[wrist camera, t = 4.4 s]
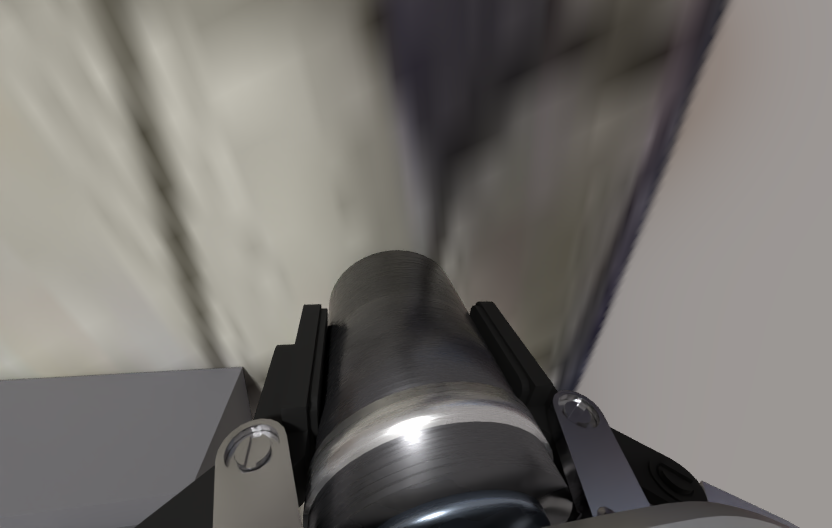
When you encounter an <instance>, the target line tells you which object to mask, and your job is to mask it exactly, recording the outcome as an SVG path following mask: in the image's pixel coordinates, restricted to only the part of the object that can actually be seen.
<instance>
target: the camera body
mask: <svg viewBox="0 0 832 528" xmlns="http://www.w3.org/2000/svg"><path fill="white" fill-rule="evenodd" d="M249 421H252V416H251V411H250V405H249V400H248V394H247V389H246V384H245V378H244V373H243V367H234V368H216V369H198V370H180V371H162V372H144V373H126V374H108V375H90V376H72V377H54V378H36V379H17V380H0V528H134V527H136V526H137V525H138V524H140V523H141V522H142V521H143V520H145V519H146V518H147V517H149V516H150V515H151V514H152V513H154V512H155V511H156V510H158V509H159V508H160V507H161V506H163V505H164V504H165V503H167V502H168V501H169V500H170V499H172V498H173V497H174V496H176V495H177V494H178V493H179V492H181V491H182V490H183V489H185V488H186V487H187V486H188V485H190V484H191V483H192V482H194V481H195V480H196V479H197V478H199V477H200V476H201V475H203V474H204V473H205V472H206V471H208V470H209V469H210V468H212V467H213V466H214V465H215V460H216V455H217V451H218V449H219V447H220V445H221V444H222V442H223V440H224V439H225V438H226V437H227V436H228V435H229V434H230V433H231V432H232V431H233V430H235V429H236V428H238V427H239V426H240V425H242V424H245V423H247V422H249Z"/></svg>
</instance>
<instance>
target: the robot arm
mask: <svg viewBox="0 0 832 528" xmlns="http://www.w3.org/2000/svg"><path fill="white" fill-rule="evenodd" d="M470 317H471V319H472V320H473V322H474V324H475V326H476V327H477V329H478V331H479V332H480V334H481V336H482V338H483V339H484V341H485V343H486V345H487V346H488V348H489V350H490V352H491V353H492V355H493V357H494V359H495V360H496V362H497V364H498V366H499V367H500V369H501V371H502V373H503V374H504V376H505V378H506V380H507V381H508V383H509V385H510V387H511V388H512V390H513V392H514V394H515V395H516V397H517V398H519V399H520V400H521V401H522V402H523V403H524V404H525V405H526V406H527V408H528V409H529V411H530V413H531V414H532V416H533V418H534V419H535V421H536V423H537V424H538V426H539V428H540V430H541V431H542V433H543V435H544V436H545V438H546V440H547V441H548V443H549V445H550V447H551V449H552V454H553V462H554V463H555V465H556V467H557V469H558V470H559V472H560V474H561V476H562V477H563V479H564V481H565V483H566V484H567V486H568V488H569V490H570V492H571V494H572V499H573V504H572V510H571V513H570V516H569V518H568V520H567V522H566V523H562V524H557V525H552V526H547V527H542V528H799V527H797V526H795V525H794V524H792V523H790V522H789V521H787V520H785V519H783V518H780V517H778V516H776V515H774V514H772V513H769V512H768V511H766V510H764V509H761V508H759V507H757V506H755V505H753V504H751V503H748V502H746V501H744V500H742V499H740V498H738V497H736V496H734V495H731V494H729V493H727V492H725V491H723V490H721V489H718V488H717V487H714V486H712V485H710V484H708V483H706V482H703V481H701V482H700V483H698V481H697V480H696V479H695V478H694V477H693V476H692V475H691V474H690V472H688V471H687V470H686V469H685V468H684V467H682V466H681V465H680V464H678V463H676V462H675V461H673V460H672V459H670V458H668V457H666V456H664V455H663V454H661V453H659V452H656V451H655V450H653V449H651V448H649V447H647V446H645V445H643V444H641V443H639V442H638V441H635V440H633V439H632V438H630V437H628V436H626V435H624V434H622V433H620V432H618V431H616V430H614V429H612V428H611V427H610V426H609V425H608V422H607V421H606V419H605V417H604V415H603V413H602V412H601V410H600V409H599V407H597V406H596V405H595V403H594V402H592V401H591V400H589V399H588V398H587V397H585V396H583V395H581V394H579V393H577V392H573V391H569V390H562V391H559V392H558V391H557V390H556V389H555V387H554V386H553V384H552V382H551V381H550V379H549V378H548V377H547V375H546V374H545V373H544V371H543V370H542V368H541V367H540V366H539V364H538V363H537V362H536V360H535V359H534V358H533V356H532V355H531V353H530V352H529V351H528V349H527V348H526V347H525V345H524V344H523V342H522V341H521V340H520V338H519V337H518V336H517V334H516V333H515V331H514V330H513V329H512V327H511V326H510V325H509V323H508V322H507V320H506V319H505V318H504V316H503V315H502V314H501V312H500V311H499V309H498V308H497V307H496V305H495V304H494V303H493V302H477V303H476V305H475V306H472V308H471V311H470ZM327 331H328V312H327V309H321V304H314V305H304V306H303V311H302V315H301V319H300V324H299V328H298V333H297V337H296V342H295V344H292V345H277V346H276V348H275V351H274V354H273V357H272V361H271V364H270V367H269V370H268V374H267V377H266V380H265V384H264V387H263V390H262V394H261V397H260V400H259V404H258V407H257V410H256V413H255V417H254V420H252V421H249V422H247V423H245V424H242V425H240V426H239V427H238V428H236V429H235V430H233V431H232V432H231V433H230V434H229V435H228V436H227V437H226V438H225V439H224V440H223V442H222V444H221V445H220V447H219V449H218V451H217V455H216V460H215V465H214V466H213V467H212V468H210V469H209V470H208V471H206V472H205V473H204V474H203V475H201V476H200V477H199V478H197V479H196V480H195V481H194V482H192V483H191V484H190V485H188V486H187V487H186V488H185V489H183V490H182V491H181V492H179V493H178V494H177V495H176V496H174V497H173V498H172V499H170V500H169V501H168V502H167V503H165V504H164V505H163V506H161V507H160V508H159V509H158V510H156V511H155V512H154V513H152V514H151V515H150V516H149V517H147V518H146V519H145V520H143V521H142V522H141V523H140V524H138V525H137V526H136V527H134V528H302V524H301V518H300V512H299V507H300V506H301V505H302V504H303V503H304V502H305V494H306V485H307V477H308V469H309V466H310V462H311V459H312V457H313V455H314V453H315V446H316V437H317V433H318V426H319V415H320V405H321V394H322V384H323V373H324V363H325V352H326V342H327Z"/></svg>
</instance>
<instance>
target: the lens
mask: <svg viewBox="0 0 832 528" xmlns="http://www.w3.org/2000/svg"><path fill="white" fill-rule="evenodd" d="M572 504H573V499H572V494H571V492H570V490H569V488H568V486H567V484H566V483H565V481H564V479H563V477H562V476H561V474H560V472H559V470H558V469H557V467H556V465H555V463H554V462H553V454H552V449H551V447H550V445H549V443H548V441H547V440H546V438H545V436H544V435H543V433H542V431H541V430H540V428H539V426H538V424H537V423H536V421H535V419H534V418H533V416H532V414H531V413H530V411H529V409H528V408H527V406H526V405H525V404H524V403H523V402H522V401H521V400H520V399H519V398H517V397H516V395H515V394H514V392H513V390H512V388H511V387H510V385H509V383H508V381H507V380H506V378H505V376H504V374H503V373H502V371H501V369H500V367H499V366H498V364H497V362H496V360H495V359H494V357H493V355H492V353H491V352H490V350H489V348H488V346H487V345H486V343H485V341H484V339H483V338H482V336H481V334H480V332H479V331H478V329H477V327H476V326H475V324H474V322H473V320H472V319H471V317H470V315H469V313H468V312H467V310H466V308H465V306H464V305H463V303H462V301H461V299H460V298H459V296H458V294H457V292H456V291H455V289H454V287H453V285H452V284H451V282H450V280H449V278H448V277H447V275H446V273H445V272H444V271H443V269H442V268H441V267H440V266H439V265H438V264H437V263H435V262H434V261H432V260H431V259H429V258H427V257H425V256H423V255H420V254H418V253H414V252H409V251H400V250H396V251H385V252H380V253H376V254H373V255H370V256H368V257H365V258H363V259H361V260H360V261H358V262H356V263H355V264H353V265H352V266H351V267H349V268H348V269H347V270H346V271H345V272H344V273H343V274H342V276H341V277H340V278H339V279H338V281H337V283H336V284H335V286H334V288H333V291H332V293H331V298H330V304H329V314H328V331H327V342H326V352H325V363H324V373H323V384H322V394H321V405H320V415H319V426H318V433H317V437H316V446H315V453H314V455H313V457H312V459H311V462H310V466H309V469H308V477H307V485H306V494H305V503H304V512H303V527H304V528H542V527H547V526H552V525H557V524H562V523H566V522H567V520H568V518H569V516H570V513H571V510H572Z"/></svg>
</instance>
